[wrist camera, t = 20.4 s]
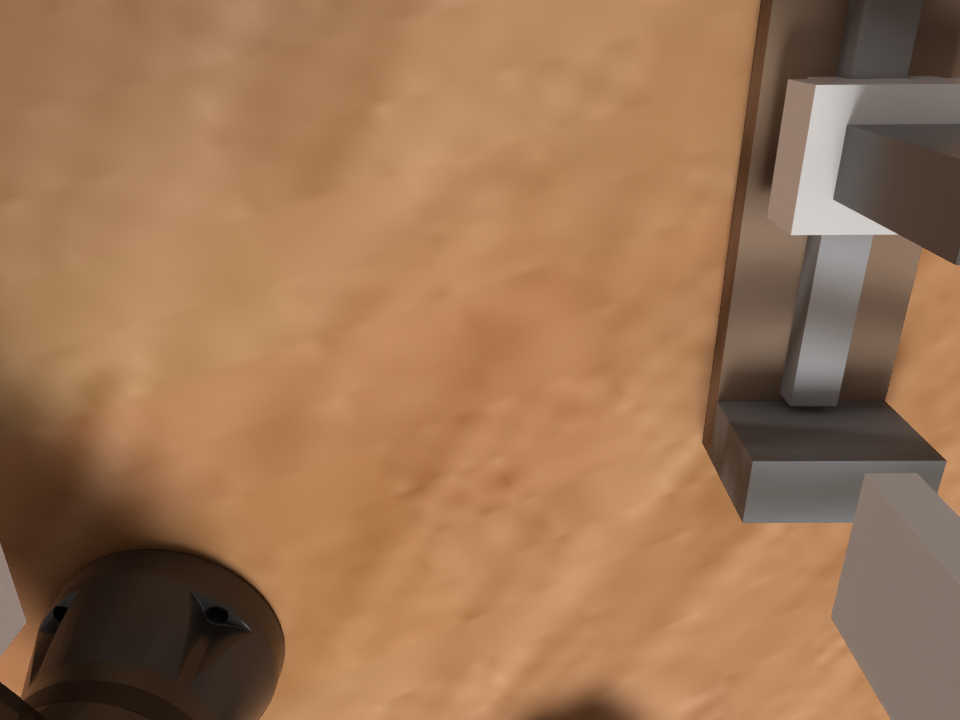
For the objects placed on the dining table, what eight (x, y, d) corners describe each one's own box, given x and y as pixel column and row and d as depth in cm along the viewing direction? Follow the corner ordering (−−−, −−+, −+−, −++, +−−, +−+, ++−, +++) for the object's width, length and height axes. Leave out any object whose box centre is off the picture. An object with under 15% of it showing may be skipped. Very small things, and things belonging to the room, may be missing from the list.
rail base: (868, 442, 43) (940, 522, 37) (702, 443, 43) (742, 522, 37) (1019, -189, 31) (1170, -246, 24) (786, -186, 31) (870, -243, 24)
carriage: (927, 210, 36) (1151, 309, 24) (758, 211, 36) (895, 310, 24) (960, 75, 33) (1228, 109, 21) (778, 77, 33) (942, 111, 21)
